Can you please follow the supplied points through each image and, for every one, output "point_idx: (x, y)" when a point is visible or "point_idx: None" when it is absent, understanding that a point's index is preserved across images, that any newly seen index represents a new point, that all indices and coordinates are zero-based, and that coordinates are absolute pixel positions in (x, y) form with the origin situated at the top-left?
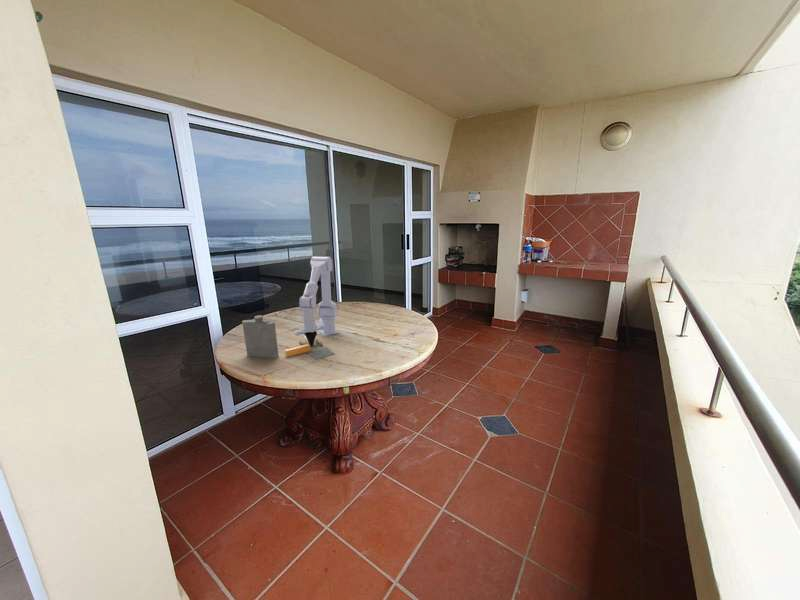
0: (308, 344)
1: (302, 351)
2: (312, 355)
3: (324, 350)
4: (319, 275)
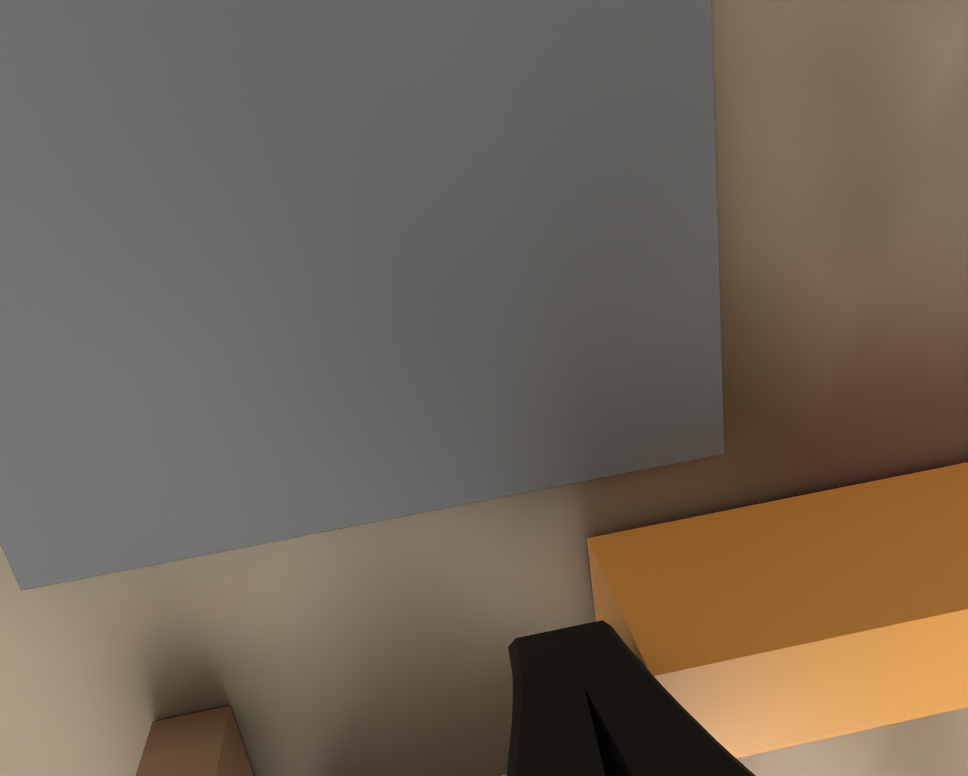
0: None
1: (866, 509)
2: (674, 80)
3: (134, 312)
4: None
